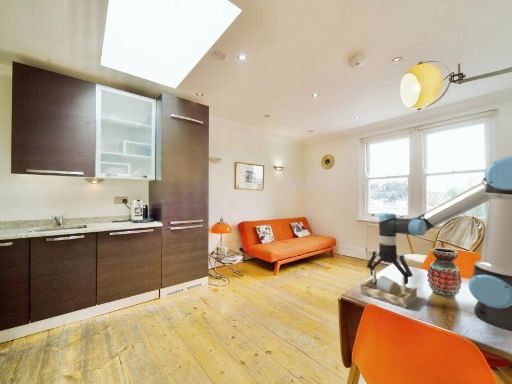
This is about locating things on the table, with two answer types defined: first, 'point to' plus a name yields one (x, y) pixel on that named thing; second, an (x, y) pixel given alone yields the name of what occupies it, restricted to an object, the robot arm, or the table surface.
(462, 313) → the table surface
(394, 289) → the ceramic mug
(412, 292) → the crate
